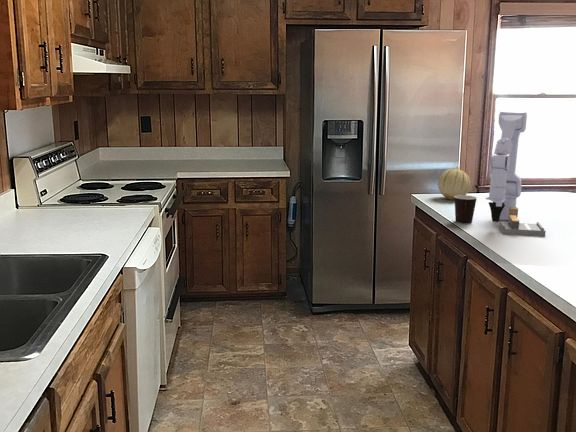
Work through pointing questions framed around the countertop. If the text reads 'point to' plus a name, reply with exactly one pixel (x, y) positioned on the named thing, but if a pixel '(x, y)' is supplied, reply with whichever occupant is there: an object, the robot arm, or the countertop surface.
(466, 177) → the cantaloupe
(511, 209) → the oak post
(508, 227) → the box
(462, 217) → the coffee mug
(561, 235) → the countertop surface
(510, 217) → the breaker toggle
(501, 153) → the robot arm
